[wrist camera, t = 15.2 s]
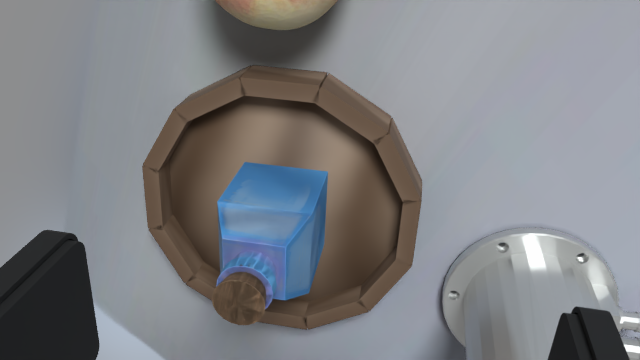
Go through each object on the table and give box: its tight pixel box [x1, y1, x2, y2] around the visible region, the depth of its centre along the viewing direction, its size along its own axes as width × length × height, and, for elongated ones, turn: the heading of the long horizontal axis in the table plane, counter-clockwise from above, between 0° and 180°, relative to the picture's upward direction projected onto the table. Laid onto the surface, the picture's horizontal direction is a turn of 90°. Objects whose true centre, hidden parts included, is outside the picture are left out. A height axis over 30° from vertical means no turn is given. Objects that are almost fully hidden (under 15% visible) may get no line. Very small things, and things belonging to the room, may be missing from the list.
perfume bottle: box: [212, 162, 328, 325], centre depth 39 cm, size 6×6×12 cm
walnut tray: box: [142, 65, 422, 330], centre depth 44 cm, size 20×20×3 cm
